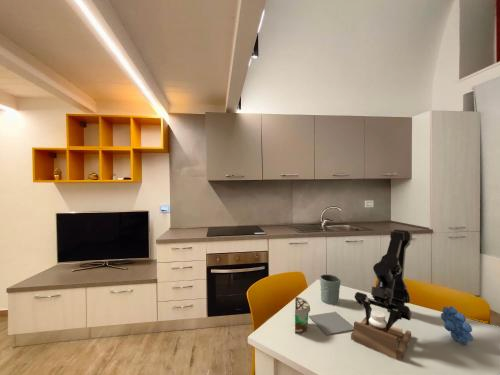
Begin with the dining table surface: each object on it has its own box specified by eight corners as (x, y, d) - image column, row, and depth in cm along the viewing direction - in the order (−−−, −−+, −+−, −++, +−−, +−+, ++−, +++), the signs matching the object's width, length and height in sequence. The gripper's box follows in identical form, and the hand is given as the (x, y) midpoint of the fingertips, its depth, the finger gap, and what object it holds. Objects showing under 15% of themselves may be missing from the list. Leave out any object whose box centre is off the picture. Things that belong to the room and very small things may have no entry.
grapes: (432, 331, 96) (432, 302, 96) (446, 330, 97) (446, 300, 97) (462, 351, 85) (462, 317, 85) (477, 349, 86) (477, 315, 86)
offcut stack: (370, 324, 102) (370, 319, 102) (403, 335, 94) (403, 329, 94) (367, 331, 97) (367, 325, 97) (401, 343, 89) (401, 337, 89)
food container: (311, 337, 92) (311, 311, 92) (294, 335, 93) (295, 310, 93) (309, 320, 104) (309, 297, 104) (295, 318, 105) (295, 296, 105)
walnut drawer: (366, 320, 104) (366, 304, 104) (411, 336, 93) (411, 318, 93) (350, 339, 91) (350, 321, 91) (400, 361, 79) (400, 340, 79)
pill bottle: (389, 350, 85) (389, 319, 85) (370, 346, 87) (370, 316, 87) (385, 339, 91) (385, 311, 91) (367, 336, 93) (367, 308, 93)
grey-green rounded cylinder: (323, 294, 129) (323, 272, 129) (342, 300, 123) (343, 276, 123) (317, 301, 121) (317, 278, 121) (337, 307, 115) (337, 283, 115)
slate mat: (335, 312, 111) (335, 311, 111) (356, 329, 97) (356, 328, 97) (308, 316, 107) (308, 315, 107) (326, 335, 93) (326, 334, 93)
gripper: (356, 272, 98) (345, 308, 90) (409, 284, 85) (402, 328, 77) (362, 285, 104) (353, 320, 96) (413, 299, 91) (407, 341, 83)
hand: (376, 327), depth 88 cm, fingers closed on pill bottle, 6 cm apart
